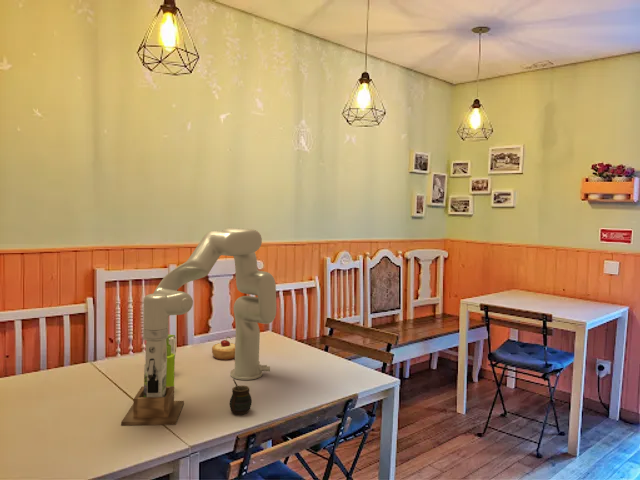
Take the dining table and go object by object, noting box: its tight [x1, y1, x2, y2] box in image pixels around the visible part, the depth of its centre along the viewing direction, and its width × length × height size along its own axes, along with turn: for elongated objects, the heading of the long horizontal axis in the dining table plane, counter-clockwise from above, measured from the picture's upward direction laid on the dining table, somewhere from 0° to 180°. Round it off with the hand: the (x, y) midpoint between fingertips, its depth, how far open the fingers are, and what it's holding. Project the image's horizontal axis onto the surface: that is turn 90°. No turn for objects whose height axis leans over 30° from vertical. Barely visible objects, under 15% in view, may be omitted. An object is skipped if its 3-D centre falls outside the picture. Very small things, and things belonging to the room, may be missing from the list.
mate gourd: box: [229, 378, 252, 416], centre depth 162 cm, size 7×8×10 cm
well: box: [120, 385, 185, 426], centre depth 158 cm, size 16×16×7 cm
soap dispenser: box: [166, 333, 176, 387], centre depth 177 cm, size 6×7×20 cm
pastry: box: [211, 336, 235, 361], centre depth 219 cm, size 12×12×9 cm
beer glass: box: [169, 335, 177, 376], centre depth 193 cm, size 7×7×15 cm
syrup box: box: [143, 359, 167, 397], centre depth 158 cm, size 6×6×14 cm
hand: (155, 388), depth 158 cm, fingers closed on syrup box, 5 cm apart
